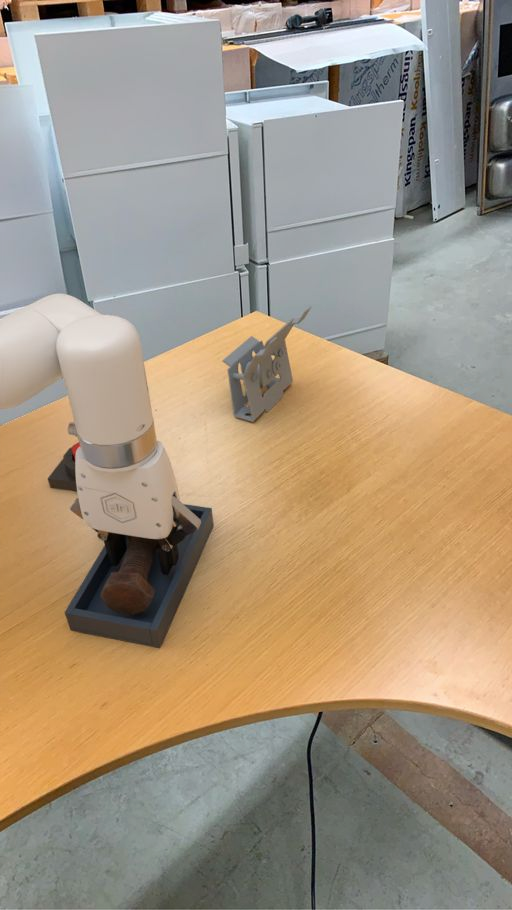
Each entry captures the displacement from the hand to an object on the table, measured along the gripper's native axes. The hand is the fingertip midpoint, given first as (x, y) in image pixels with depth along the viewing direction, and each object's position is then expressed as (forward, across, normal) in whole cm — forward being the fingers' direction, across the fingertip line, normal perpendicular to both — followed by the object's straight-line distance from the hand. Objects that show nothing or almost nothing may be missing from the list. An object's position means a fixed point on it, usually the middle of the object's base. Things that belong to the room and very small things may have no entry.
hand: (144, 560), depth 77 cm
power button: (-1, -15, +16) cm, 22 cm away
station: (+2, -15, +16) cm, 22 cm away
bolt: (+1, 0, 0) cm, 1 cm away
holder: (+2, 0, 0) cm, 2 cm away
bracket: (+3, +5, +39) cm, 39 cm away
